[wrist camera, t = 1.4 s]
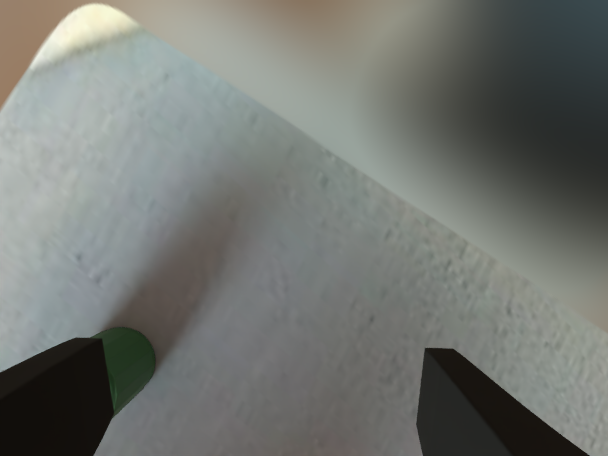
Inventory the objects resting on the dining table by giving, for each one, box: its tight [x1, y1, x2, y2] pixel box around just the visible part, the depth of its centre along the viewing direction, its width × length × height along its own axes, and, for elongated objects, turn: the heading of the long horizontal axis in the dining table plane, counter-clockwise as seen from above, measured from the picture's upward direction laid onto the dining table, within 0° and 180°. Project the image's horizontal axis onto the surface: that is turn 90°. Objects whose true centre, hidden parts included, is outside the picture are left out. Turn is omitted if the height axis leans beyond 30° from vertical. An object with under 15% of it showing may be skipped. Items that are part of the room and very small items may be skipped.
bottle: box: [90, 327, 155, 418], centre depth 22 cm, size 5×5×8 cm
